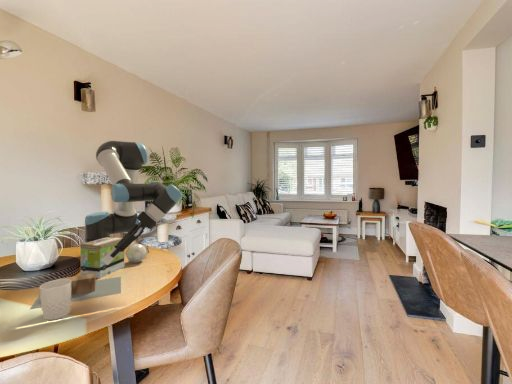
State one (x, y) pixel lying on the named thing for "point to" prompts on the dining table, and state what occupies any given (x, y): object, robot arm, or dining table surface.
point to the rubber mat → (101, 289)
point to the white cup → (55, 298)
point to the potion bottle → (136, 252)
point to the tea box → (100, 257)
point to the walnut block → (82, 283)
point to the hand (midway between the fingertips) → (104, 262)
